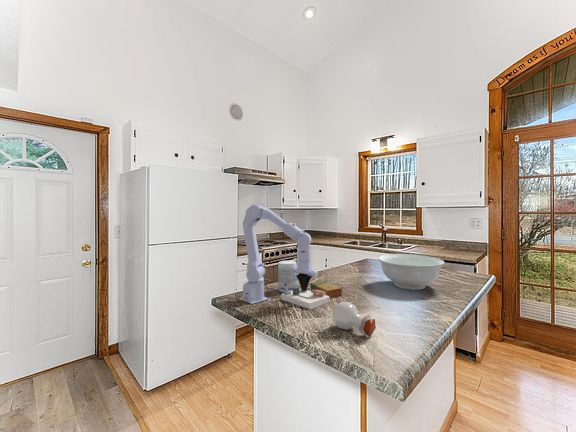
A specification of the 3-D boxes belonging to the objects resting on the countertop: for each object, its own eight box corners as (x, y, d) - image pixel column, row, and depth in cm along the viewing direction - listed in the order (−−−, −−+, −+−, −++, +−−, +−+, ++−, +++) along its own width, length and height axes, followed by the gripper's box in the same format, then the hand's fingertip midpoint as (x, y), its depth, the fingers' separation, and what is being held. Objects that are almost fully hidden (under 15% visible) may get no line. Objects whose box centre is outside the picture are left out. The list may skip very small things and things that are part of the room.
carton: (327, 299, 133) (327, 290, 133) (310, 290, 148) (309, 282, 148) (342, 296, 137) (342, 287, 137) (323, 288, 152) (323, 280, 151)
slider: (295, 295, 130) (295, 288, 130) (292, 294, 131) (292, 287, 131) (299, 294, 132) (299, 287, 132) (296, 293, 133) (296, 286, 133)
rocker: (316, 294, 126) (317, 290, 126) (310, 292, 129) (311, 289, 129) (325, 294, 130) (325, 291, 130) (319, 293, 133) (319, 289, 133)
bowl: (457, 295, 137) (458, 264, 136) (389, 295, 137) (389, 265, 137) (426, 278, 169) (426, 253, 168) (371, 278, 169) (371, 253, 169)
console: (310, 309, 120) (309, 298, 120) (281, 299, 133) (281, 290, 133) (329, 301, 129) (329, 292, 129) (301, 293, 142) (300, 284, 142)
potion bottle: (335, 326, 106) (371, 345, 95) (322, 317, 100) (359, 336, 89) (345, 303, 109) (381, 319, 98) (334, 293, 103) (371, 309, 92)
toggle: (287, 291, 132) (285, 283, 133) (285, 291, 133) (283, 283, 134) (289, 290, 133) (287, 282, 134) (287, 290, 134) (285, 283, 135)
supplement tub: (298, 292, 143) (298, 263, 142) (279, 293, 141) (279, 264, 141) (295, 287, 152) (295, 260, 152) (277, 288, 151) (277, 260, 150)
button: (303, 292, 135) (303, 287, 134) (299, 290, 137) (299, 286, 137) (307, 290, 136) (307, 286, 136) (303, 289, 138) (303, 285, 138)
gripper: (322, 261, 125) (322, 292, 125) (298, 257, 135) (299, 285, 136) (311, 263, 120) (311, 295, 120) (288, 258, 130) (288, 288, 131)
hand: (304, 290), depth 128 cm, fingers closed
